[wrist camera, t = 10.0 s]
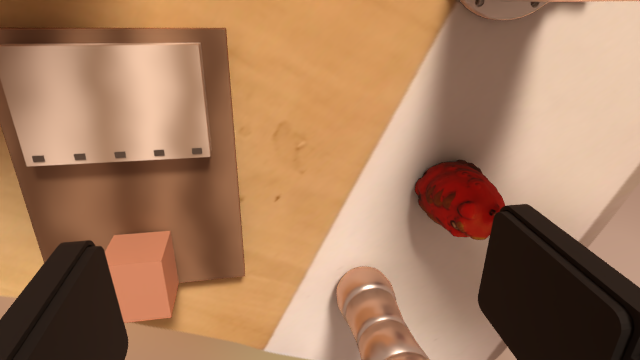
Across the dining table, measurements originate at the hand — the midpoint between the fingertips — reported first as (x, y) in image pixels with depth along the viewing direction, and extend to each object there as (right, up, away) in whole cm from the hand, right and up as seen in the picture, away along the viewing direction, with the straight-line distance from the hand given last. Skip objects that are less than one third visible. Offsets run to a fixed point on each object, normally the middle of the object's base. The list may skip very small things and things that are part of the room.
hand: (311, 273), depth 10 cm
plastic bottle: (+5, -10, +38) cm, 39 cm away
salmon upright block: (-16, -5, +29) cm, 34 cm away
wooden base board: (-17, +4, +28) cm, 32 cm away
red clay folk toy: (+14, +2, +35) cm, 37 cm away
